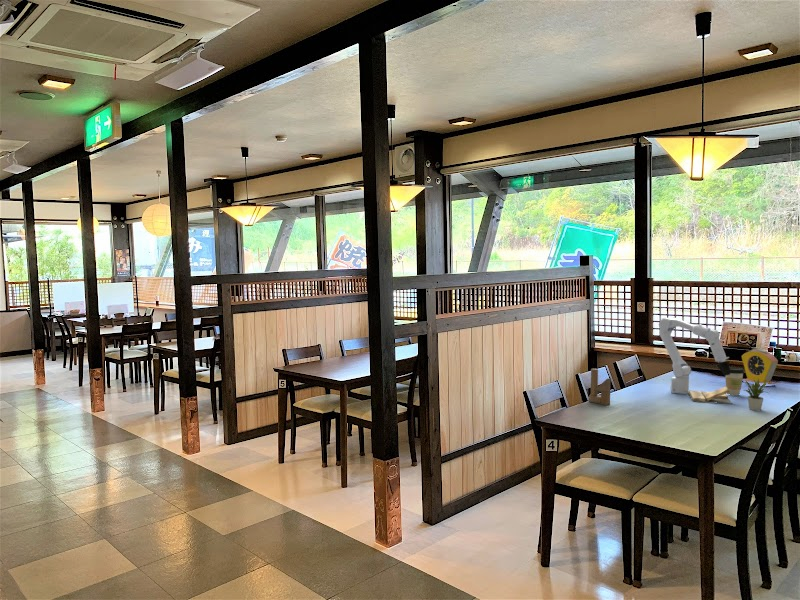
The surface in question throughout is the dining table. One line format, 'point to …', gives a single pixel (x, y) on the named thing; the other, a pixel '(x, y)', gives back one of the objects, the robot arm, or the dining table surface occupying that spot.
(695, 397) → the floor panel
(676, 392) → the robot arm
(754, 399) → the house plant
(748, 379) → the yellow mantel clock
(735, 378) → the coffee cup
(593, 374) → the wooden block
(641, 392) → the dining table surface
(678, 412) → the dining table surface
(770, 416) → the dining table surface
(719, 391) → the oak plank
